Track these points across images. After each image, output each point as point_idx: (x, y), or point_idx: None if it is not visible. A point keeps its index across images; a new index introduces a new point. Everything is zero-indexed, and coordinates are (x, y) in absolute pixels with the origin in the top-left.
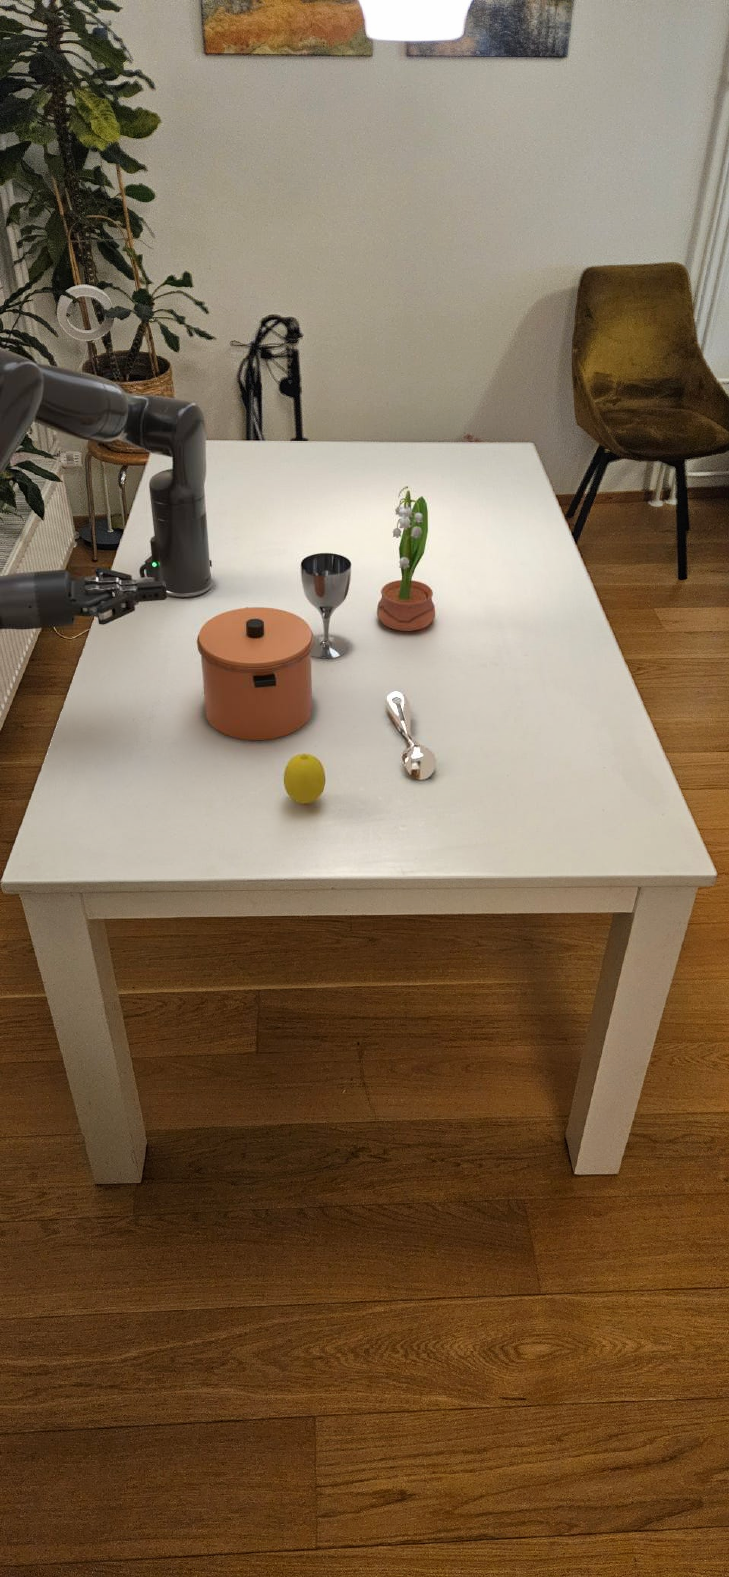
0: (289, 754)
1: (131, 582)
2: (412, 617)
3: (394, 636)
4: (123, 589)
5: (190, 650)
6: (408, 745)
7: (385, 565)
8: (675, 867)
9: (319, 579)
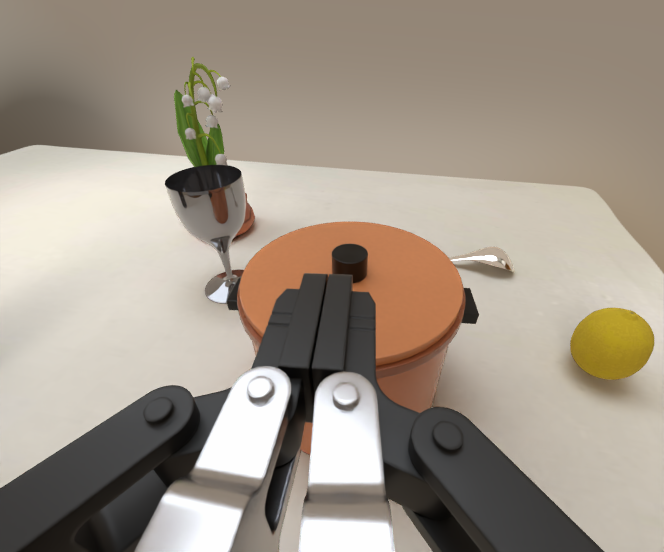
0: (469, 366)
1: (268, 397)
2: (249, 212)
3: (247, 239)
4: (366, 469)
5: None
6: (474, 258)
7: (114, 221)
8: (596, 193)
9: (232, 190)
